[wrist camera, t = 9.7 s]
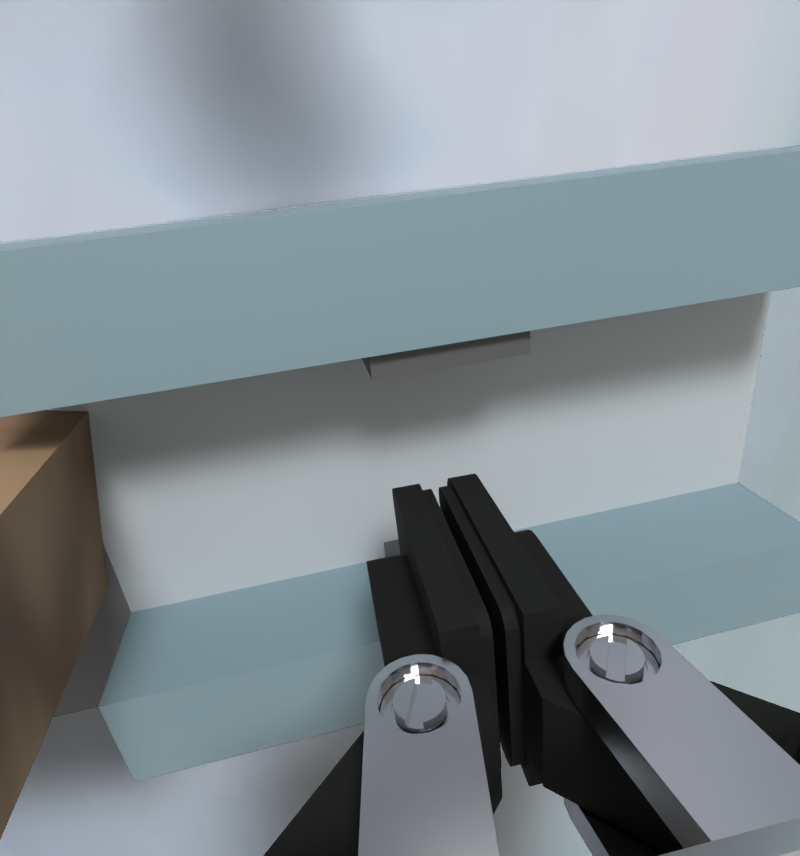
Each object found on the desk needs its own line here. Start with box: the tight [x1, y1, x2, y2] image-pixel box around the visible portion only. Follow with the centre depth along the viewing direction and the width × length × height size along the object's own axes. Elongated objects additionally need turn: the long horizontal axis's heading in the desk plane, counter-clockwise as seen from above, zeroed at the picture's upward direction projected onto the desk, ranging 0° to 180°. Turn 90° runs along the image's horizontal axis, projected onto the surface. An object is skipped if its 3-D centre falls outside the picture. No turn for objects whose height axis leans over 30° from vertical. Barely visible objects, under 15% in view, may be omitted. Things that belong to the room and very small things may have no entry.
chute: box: [0, 145, 800, 782], centre depth 13 cm, size 11×17×3 cm, turn 96°
